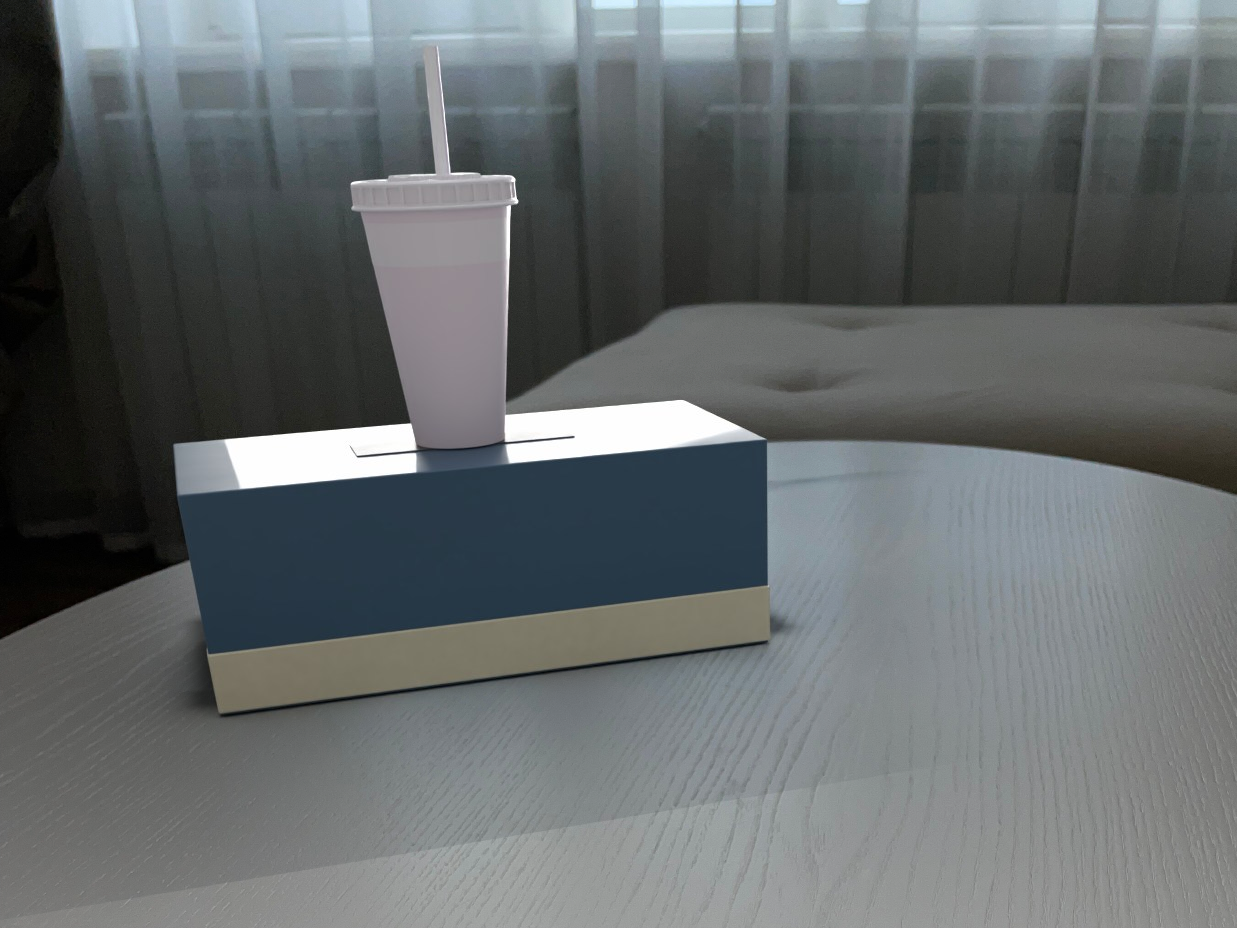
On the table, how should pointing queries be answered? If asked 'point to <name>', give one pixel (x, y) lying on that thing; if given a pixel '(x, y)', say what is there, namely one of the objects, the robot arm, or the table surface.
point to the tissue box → (472, 551)
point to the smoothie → (444, 287)
